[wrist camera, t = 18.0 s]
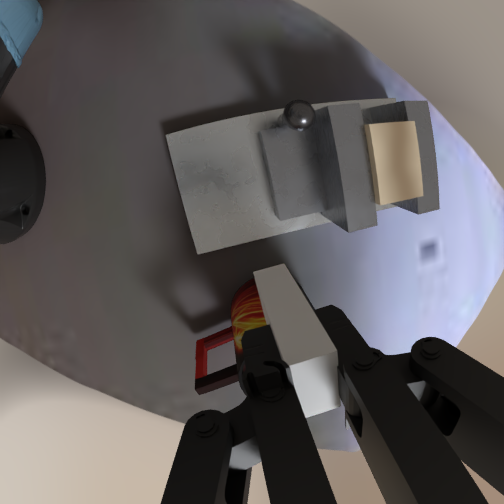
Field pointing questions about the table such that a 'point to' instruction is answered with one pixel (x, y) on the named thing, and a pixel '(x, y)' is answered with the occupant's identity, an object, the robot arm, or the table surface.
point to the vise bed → (256, 179)
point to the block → (394, 161)
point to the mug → (243, 318)
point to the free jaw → (321, 165)
